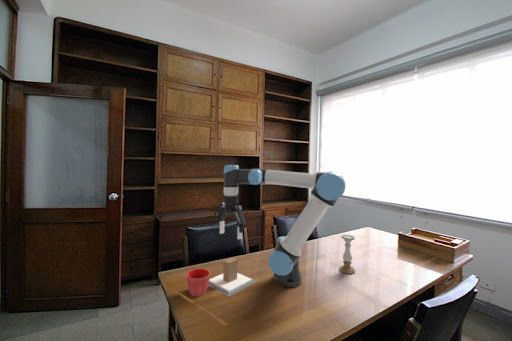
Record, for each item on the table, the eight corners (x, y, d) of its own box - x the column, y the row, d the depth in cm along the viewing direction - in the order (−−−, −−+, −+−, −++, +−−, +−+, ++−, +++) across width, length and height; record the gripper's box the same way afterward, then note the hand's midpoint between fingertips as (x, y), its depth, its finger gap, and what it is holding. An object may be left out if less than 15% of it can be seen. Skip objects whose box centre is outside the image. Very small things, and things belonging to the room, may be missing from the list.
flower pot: (204, 300, 111) (204, 279, 110) (182, 297, 113) (182, 277, 113) (213, 289, 121) (213, 269, 121) (192, 286, 123) (192, 267, 123)
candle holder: (356, 274, 139) (357, 239, 138) (340, 273, 141) (341, 238, 140) (353, 268, 148) (354, 235, 147) (338, 267, 149) (339, 233, 149)
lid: (252, 281, 128) (252, 260, 128) (229, 293, 116) (229, 269, 116) (231, 272, 138) (231, 252, 138) (208, 282, 126) (208, 260, 126)
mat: (257, 282, 128) (257, 281, 128) (228, 298, 113) (229, 296, 113) (231, 271, 141) (231, 269, 141) (202, 283, 126) (202, 282, 126)
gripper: (253, 196, 121) (253, 239, 121) (220, 192, 137) (220, 230, 138) (243, 198, 115) (242, 243, 116) (210, 193, 132) (209, 232, 132)
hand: (230, 236), depth 127 cm, fingers open, 13 cm apart
